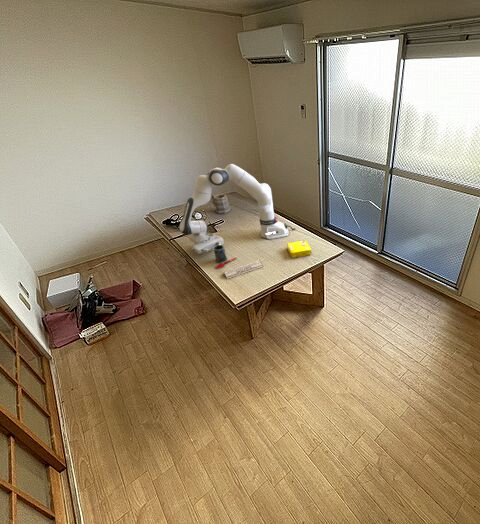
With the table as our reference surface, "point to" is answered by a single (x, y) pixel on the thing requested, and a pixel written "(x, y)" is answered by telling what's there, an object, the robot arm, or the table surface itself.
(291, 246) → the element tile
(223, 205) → the tankard
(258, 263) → the newspaper
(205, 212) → the table surface
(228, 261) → the spoon
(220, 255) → the mug
